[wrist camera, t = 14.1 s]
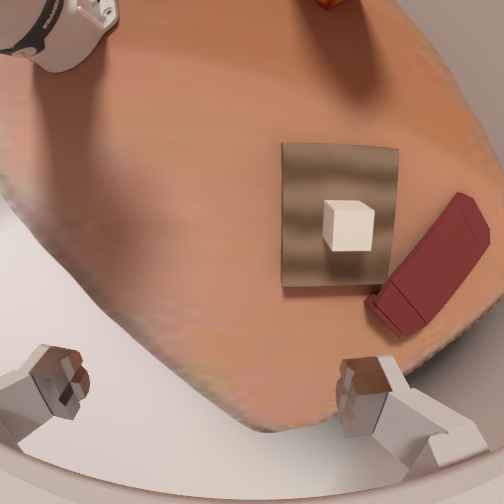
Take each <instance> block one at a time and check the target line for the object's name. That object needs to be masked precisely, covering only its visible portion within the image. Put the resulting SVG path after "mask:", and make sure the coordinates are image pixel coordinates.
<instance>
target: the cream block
mask: <svg viewBox="0 0 504 504" xmlns="http://www.w3.org/2000/svg"><path fill="white" fill-rule="evenodd" d="M374 214H375V211H374V210H373V209H371V208H370V207H368V206H367V205H365V204H364V203H362V202H361V201H350V200H324V216H323V238H324V239H325V241H326V242H327V244H328V246H329V247H330V249H331V250H332V251H371V246H372V236H373V226H374Z"/></svg>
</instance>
